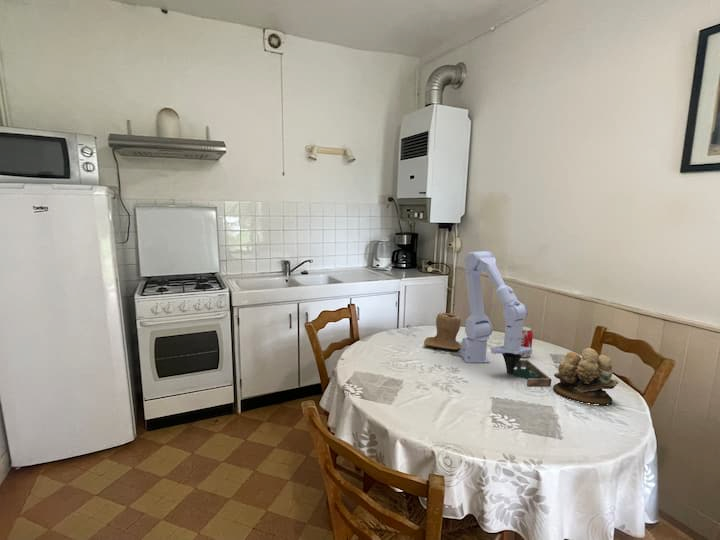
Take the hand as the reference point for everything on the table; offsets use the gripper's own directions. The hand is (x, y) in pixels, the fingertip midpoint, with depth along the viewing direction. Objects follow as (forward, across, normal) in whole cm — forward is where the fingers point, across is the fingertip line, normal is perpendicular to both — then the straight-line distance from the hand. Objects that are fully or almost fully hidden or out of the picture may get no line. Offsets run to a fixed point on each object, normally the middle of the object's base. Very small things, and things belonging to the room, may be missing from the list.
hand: (509, 371), depth 135 cm
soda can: (+2, +14, +19) cm, 24 cm away
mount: (+2, +5, 0) cm, 6 cm away
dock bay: (+1, +7, 0) cm, 7 cm away
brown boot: (+2, -17, +29) cm, 34 cm away
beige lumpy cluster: (+2, +18, -15) cm, 24 cm away
